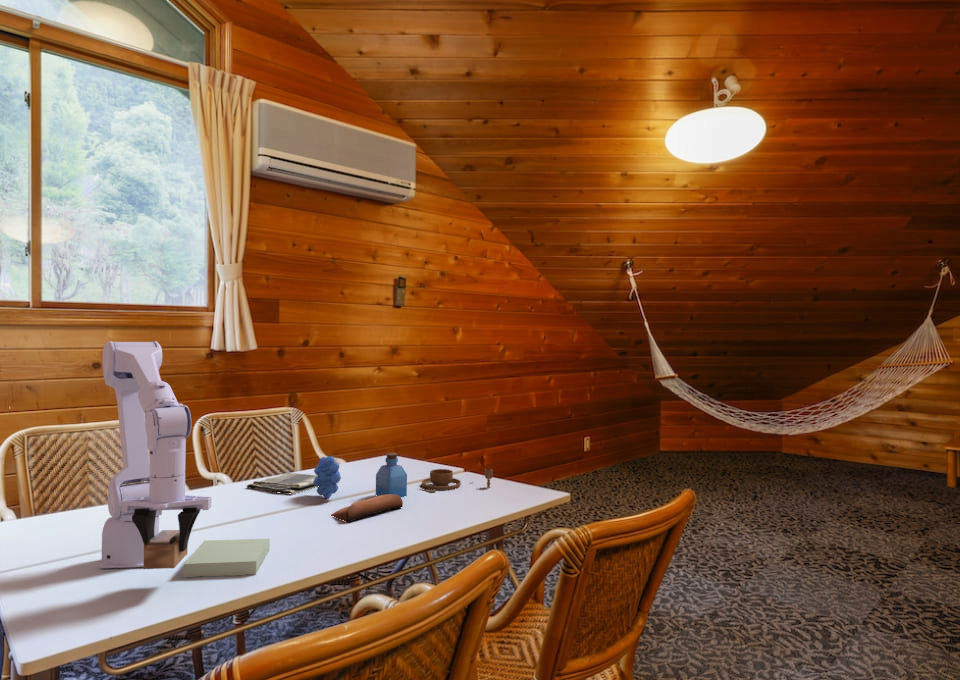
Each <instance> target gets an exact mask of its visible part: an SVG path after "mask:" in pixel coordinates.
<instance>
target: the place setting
mask: <svg viewBox="0 0 960 680" xmlns="http://www.w3.org/2000/svg"><path fill="white" fill-rule="evenodd" d="M493 476H494V470H493V469H492V468H485V469H484V478H485V479H486V481H487V482H486V485H487V486H486V487H487V489H491V482H490V481H491V479H493ZM471 482H472V481H471ZM430 483H431V485H430ZM454 483H456V484H454ZM473 483H474V481H473V482H472V483H471V484H473ZM432 484H433V485H432ZM450 484H453V485H450ZM461 484H462V482H461V480H460V479H457V478H454V472H453V470H451V469H447V468H439V469H438V468H435V469H431V470H430V471H429V477H428V478H425V479H422V480H421V485H422V487H423V488H424V489H421V488H418V489H419V490H418V491H425V492H426V493H435V492H436V491H451V490H450V489H452V490H454V489H455V488H456V489H459V487H461ZM431 489H432V490H431ZM456 489H455V490H456Z"/></svg>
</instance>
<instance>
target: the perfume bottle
mask: <svg viewBox="0 0 960 680" xmlns="http://www.w3.org/2000/svg"><path fill="white" fill-rule="evenodd" d="M385 456H386V457H385V463H386V464H383V465H381V466H380V468H379V469H378V471H377V472H376V474H375V496H376V495H377V496H380V495H387V494H396V495H399V496H400V497H402V498H405V497H404V496H406V497H407V496H408V495H407V491H408V474H407V472H406V471H405V469H404V468H403V465H400V464H398V462H399V458H398V453H396V452H389V453H388V452H387V453H386V454H385Z"/></svg>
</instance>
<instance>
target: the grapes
mask: <svg viewBox="0 0 960 680" xmlns="http://www.w3.org/2000/svg"><path fill="white" fill-rule="evenodd" d="M339 470H340V464H339V463H338V461H337V462H336V460H335V458H334V457H333V456H332V455H328V456H322V457H320V459H319V461H318V463H317V465H316V467H315V468H314V470H313V471H314V475H317V477H316V478H315V479H314V484H315V485H316V486H319V487H316V492H317V495H319V496H322V497H323V498H325V499H329V498H331V496H332V495H334V494H336V493H337V492H338V490H339V486H338V483H340V481H341V479H342V476H341V473H340V471H339Z"/></svg>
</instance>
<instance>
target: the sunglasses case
mask: <svg viewBox="0 0 960 680" xmlns="http://www.w3.org/2000/svg"><path fill="white" fill-rule="evenodd" d="M403 504H404V503H403V499H402V498H401V497H400V496H399V495H396V494H387V495H380V496H376V495H375V496H373V497H370V498H367V499H361V500H360V501H354V502H353V503H351V504H350V505H349V506H345V507H343V508H341V509H339V510H337V511H334V512H332V514H330V515H331V516H334V517H336V518H338V519H337V520H339V519H341V520H344V521H346V522H345V523H347V522H348V523H349V522H354V521H357V520H359V519H362V518H364V517H367V516H369V515H373V514H376V513H378V514H379V513H381V512H383V511H388V510H392V509H396V508H399V507H400V509H401V507H402V508H403V506H404V505H403ZM336 518H335V519H336ZM341 520H340V521H341ZM344 521H343V522H344Z"/></svg>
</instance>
